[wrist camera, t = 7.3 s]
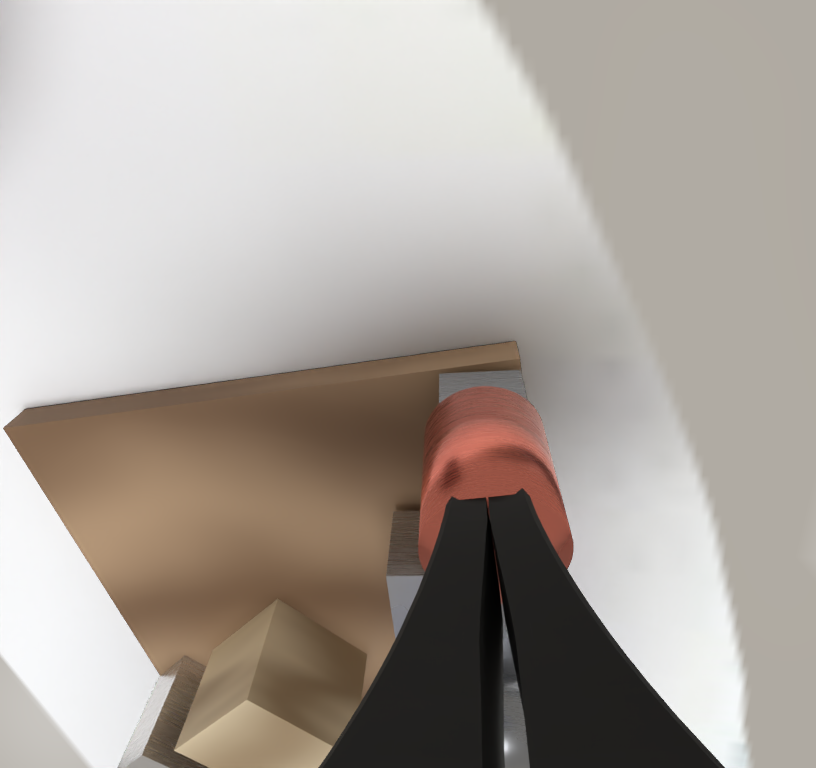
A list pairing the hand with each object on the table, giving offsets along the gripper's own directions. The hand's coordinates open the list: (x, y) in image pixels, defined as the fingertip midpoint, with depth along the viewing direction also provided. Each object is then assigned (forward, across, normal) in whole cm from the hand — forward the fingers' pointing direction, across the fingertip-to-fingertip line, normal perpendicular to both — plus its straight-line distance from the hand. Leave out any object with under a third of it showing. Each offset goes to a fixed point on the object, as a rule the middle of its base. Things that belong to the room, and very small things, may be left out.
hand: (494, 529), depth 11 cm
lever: (+5, +1, +6) cm, 8 cm away
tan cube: (+5, +8, +10) cm, 14 cm away
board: (+6, +6, +8) cm, 12 cm away
